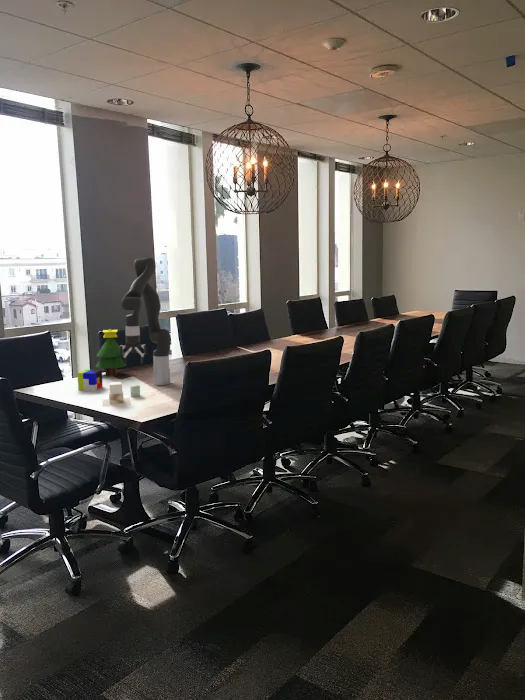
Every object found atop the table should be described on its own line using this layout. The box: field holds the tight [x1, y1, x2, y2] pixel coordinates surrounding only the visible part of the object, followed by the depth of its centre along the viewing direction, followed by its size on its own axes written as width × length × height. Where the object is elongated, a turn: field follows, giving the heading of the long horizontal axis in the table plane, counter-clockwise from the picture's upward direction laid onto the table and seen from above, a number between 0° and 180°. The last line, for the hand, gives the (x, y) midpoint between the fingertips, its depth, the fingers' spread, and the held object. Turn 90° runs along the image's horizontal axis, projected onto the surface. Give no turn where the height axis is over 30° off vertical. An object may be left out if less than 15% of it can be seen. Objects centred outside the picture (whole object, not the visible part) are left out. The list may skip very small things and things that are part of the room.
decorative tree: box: [95, 328, 127, 377], centre depth 377 cm, size 19×19×30 cm
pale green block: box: [130, 384, 141, 398], centre depth 323 cm, size 5×5×6 cm
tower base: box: [108, 390, 125, 404], centre depth 310 cm, size 7×7×5 cm
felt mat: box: [102, 397, 132, 407], centre depth 310 cm, size 14×14×1 cm
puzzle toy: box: [77, 369, 104, 392], centre depth 342 cm, size 10×10×10 cm
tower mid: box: [109, 381, 123, 394], centre depth 309 cm, size 6×6×5 cm
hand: (133, 363), depth 320 cm, fingers open, 8 cm apart
